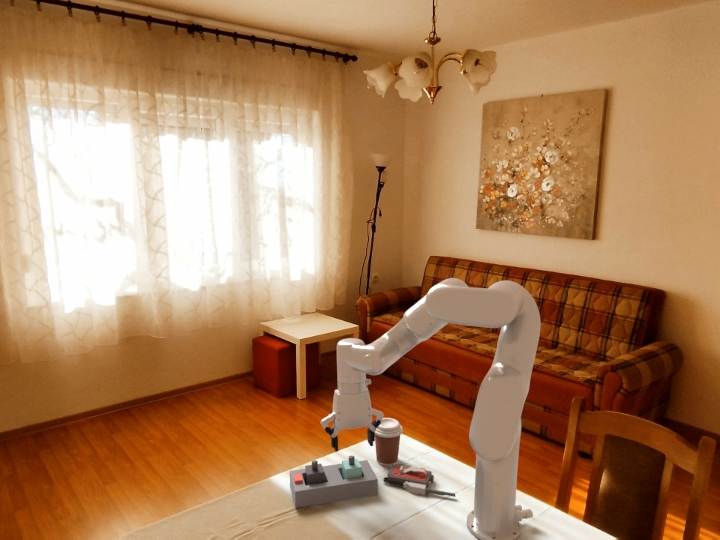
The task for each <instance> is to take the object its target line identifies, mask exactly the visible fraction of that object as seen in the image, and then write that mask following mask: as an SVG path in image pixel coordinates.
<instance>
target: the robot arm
mask: <svg viewBox="0 0 720 540" xmlns="http://www.w3.org/2000/svg"><path fill="white" fill-rule="evenodd" d="M448 324H453V325H460V326H471V327H480V328H490V329H499V328H500V333H499V336H498V338H497V339H498V340H497V346H496V349H495V353H494V356H493V360H492V364H491V367H490V368H489V370H488V372H487V373H486V374H485V376H484V378H483V380H482V382H481V383H480V387H479V389H478V393H477V398H476V402H475V406H474V411H473V413H472V414H473V415H472V418H471V419H472V420H471V423H470V427H469V434H468V435H469V436H468V437H469V443H470V445H471V446H470V447H471V449H472V450H473V451H474V453H475V454H476V455H475V475H474V497H473V498H474V500H473V510H471V511H470V512H469V513H468V515H467V516H466V526H467V528H468V530H469V532H470V533H471V534H472V535H473V536H475V538H478V539H479V540H518V538H519V539H520V537H521V532H522V527H521V524H520V522H521V521H522V520H523V519H530V518H533V517H534V513H533V511H532V509H531V508H527V509H523V508H522V506H521V504H517V505H516V502H517V500H516V498H517V484H518V483H517V481H518V468H519V454H520V442H521V434H522V413H523V410H524V405H525V403H526V399H527V396H528V393H529V391H530V386H531V385H530V384H531V377H532V371H533V368H534V363H535V359H536V356H537V355H536V354H537V349H538V345H539V341H540V334H541V315H540V311H539V307H538V304H537V302H536V301H535V299H534V297H533V296H532V295H531V293H530V292H529V291H528V290H527V289H526V288H525V287H523V286H522V285H521V284H519V283H518V282H515V281H512V280H500V281H497V282H494V283H492V284H491V285H490V286H489V287H488V288H487V287H486V288H484V287H469V285H468V284H467V283H466V282H465V281H463V280H462V279H460V278H455V277H449V278H447V279H446V278H445V279H444V280H442V281H440V282H438V283H436V284H435V285H433V286H432V287H431V288H430V289H429V290H428V292H427V293H426V294H425V295H424V296H423V297H422V298H421V299H419V300H418V301H417V302H415V303H414V304H413V305H412V306H410V307H409V308H408V309H407V310H406V311H405V312H404V313H403V316H402V318H401V319H400V320H399V322H397V323H396V324H395V325H394V326H393V327H392V328H390V329H389V330H388V331H387V332H385V333H384V334H382V335H381V336H380V337H379V338H377V339H376V340H374V341H372V342H371V343H369V344H365V342H364V341H363V340H362V339H359V338H354V337H347V338H343V339H340V340H339V341H338V342H337V343H336V371H337V372H336V373H337V375H336V376H337V381H336V382H337V389H335V390H334V393H333V400H332V413H329V414H328V415H327V416H326V417H323V418H322V419H321V420H320V424H321V427H322V428H323V430H324V431H325V433H327V434H328V435H329V436H330V445H331V448H333V449H334V452H336V453H337V452H339V437H338V434H339V433H340V432H341V431H344V430H352V429H359V428H366V427H367V430H366V432H367V435H366V436H367V439H366V440H367V444H369V446H370V447H373V446H374V442H375V431H376V429H377V427H378V426H379V425H380V424H381V421H382V419H383V418H385V413H384V412H383V411H381V410H378V409H376V408H372V402H371V396H370V391H369V389H368V386H369V385H372V380H371V378H367V375H370V376H378V375H381V374H383V373H384V372H385V371H386V370H387V369H388V368H389V367H391V366H392V365H394V364H395V363H396V362H398V361H399V359H401V358H402V357H403V356H404V355H406V354H407V353H408V352H410V351H411V350H412V349H413V348H414V347H416V346H417V345H419V344H420V343H422V342H424V341H427V340H429V339H431V337H432V336H433V335H435V334H436V333H438V332H439V331H440V330H441V329H443V328H444V327H445V326H446V325H448ZM373 416H376V418H375V419H374V420H373ZM331 422H332V423H333V425H332V426H331V427H330V426H329V425H328V424H329V423H331Z"/></svg>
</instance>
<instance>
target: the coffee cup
mask: <svg viewBox="0 0 720 540" xmlns="http://www.w3.org/2000/svg"><path fill="white" fill-rule="evenodd" d="M403 432H404V430H403V426H402V425H401V424H400V422H399V420H397V419H394V418H391V417H383V419H382V421H381V424H380V425H379V426H378V427H377V429H376V431H375V441H374V443H375V457H376V463H377V464H378V463H379V465H380V464H381V466H383V465H384V466H383V467H391V466H392V465H397V464H398V460H399V450H400V442H401V441H400V440H401V435H402V434H403Z"/></svg>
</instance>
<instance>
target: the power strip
mask: <svg viewBox="0 0 720 540" xmlns="http://www.w3.org/2000/svg"><path fill="white" fill-rule="evenodd" d="M358 461H359V463H360V465H361V467H362V477H359V478H352V479H346V480H343V479H342V463H337V464H336V463H335V464H329V465H328V464H327V465H323V464H322V463H319V462H318V460H312V461H311V464H309V465H304V468H301V469H293V470H289V488H290V492H291V495H292V501H293V503H294V507H295V509H296V508H303V507H309V506H315V505H321V504H322V505H323V504H328V503H333V502H334V503H335V502H340V501H345V500H352V499H360V498H365V497H370V496H377V495H378V493H379V492H378V489H379V488H378V487H379V485H378V484H379V482H378V481H379V480H378V477H377V475H376V474H375V472H374V471H375V470H373V467H372V466H371V464H370V463H369V461H368V459H367V460H358Z"/></svg>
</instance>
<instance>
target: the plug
mask: <svg viewBox="0 0 720 540" xmlns="http://www.w3.org/2000/svg"><path fill="white" fill-rule="evenodd" d="M359 461H360V460H359V459H358V458H355V455H349V456H348V459H347V460H342V461H341V464H342V479H343V480H346V479H352V478H359V477H362V467H361V465H360V463H359Z"/></svg>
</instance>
